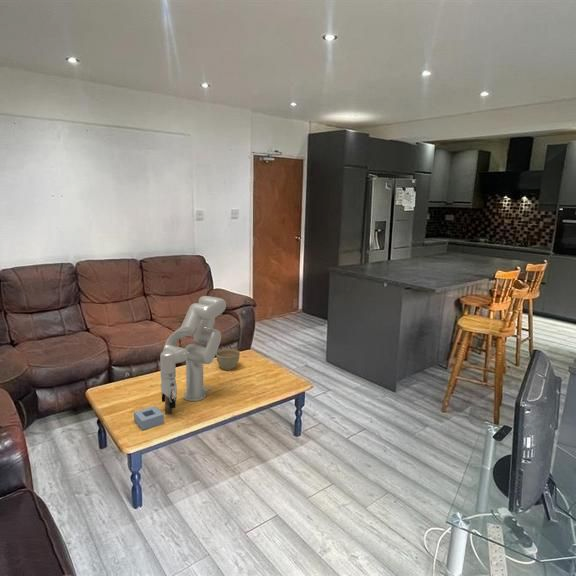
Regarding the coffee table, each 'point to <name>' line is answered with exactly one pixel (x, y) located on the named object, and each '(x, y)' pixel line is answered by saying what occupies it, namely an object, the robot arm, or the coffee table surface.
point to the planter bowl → (227, 358)
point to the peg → (167, 405)
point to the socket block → (148, 417)
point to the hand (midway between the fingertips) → (168, 404)
